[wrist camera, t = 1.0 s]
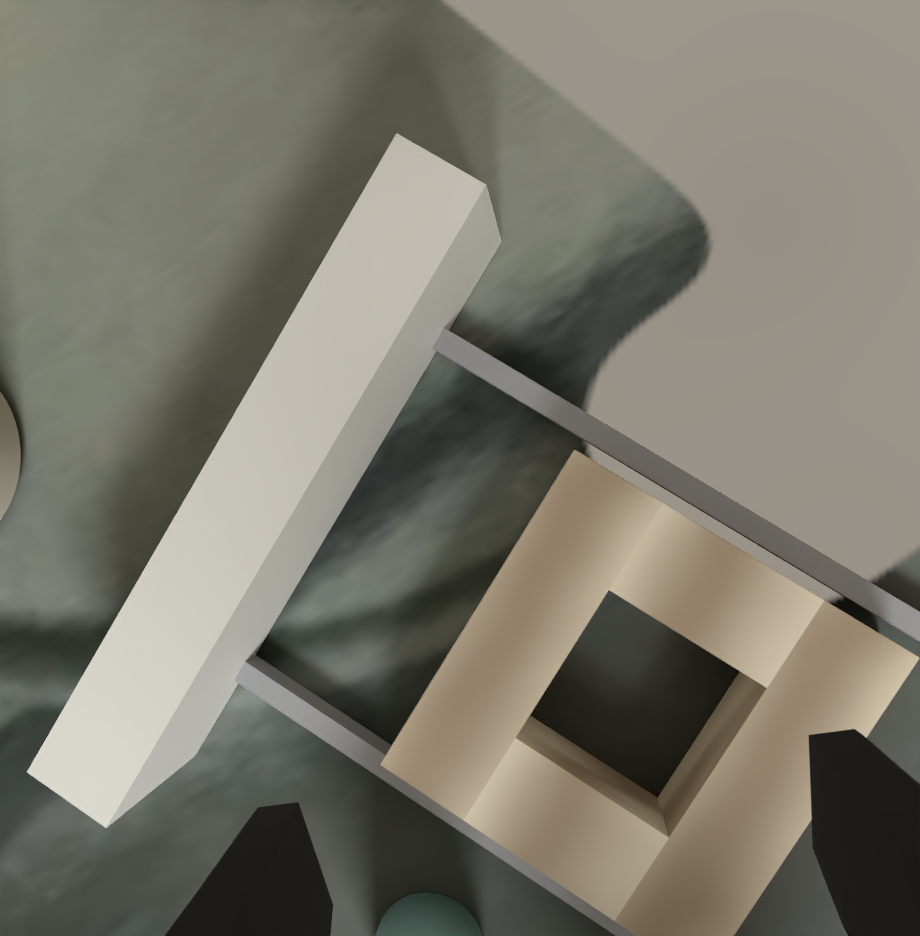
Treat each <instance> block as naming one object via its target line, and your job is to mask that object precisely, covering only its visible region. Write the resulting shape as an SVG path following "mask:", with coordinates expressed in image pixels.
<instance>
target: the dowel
mask: <svg viewBox="0 0 920 936" xmlns="http://www.w3.org/2000/svg"><path fill="white" fill-rule="evenodd" d="M375 936H483V935H482V932H481V930H480V927H479V925H478V923H477V922H476V920H475V918H474V917H473V916H472V914H471V913H470V912H469V911H468V910H467V909H466V908H465V907H464V906H462V905H461V904H460V903H459V902H457V901H455V900H454V899H452V898H450V897H447V896H445V895H441V894H437V893H430V892H423V893H415V894H411V895H409V896H406V897H404V898H402V899H400V900H398V901H397V902H396V903H394V904H393V905H392V906H391V907H390V908H389V909H388V910H387V912H386V913H385V914H384V916H383V918H382V920H381V921H380V924H379V926H378V929H377V932H376V934H375Z"/></svg>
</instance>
